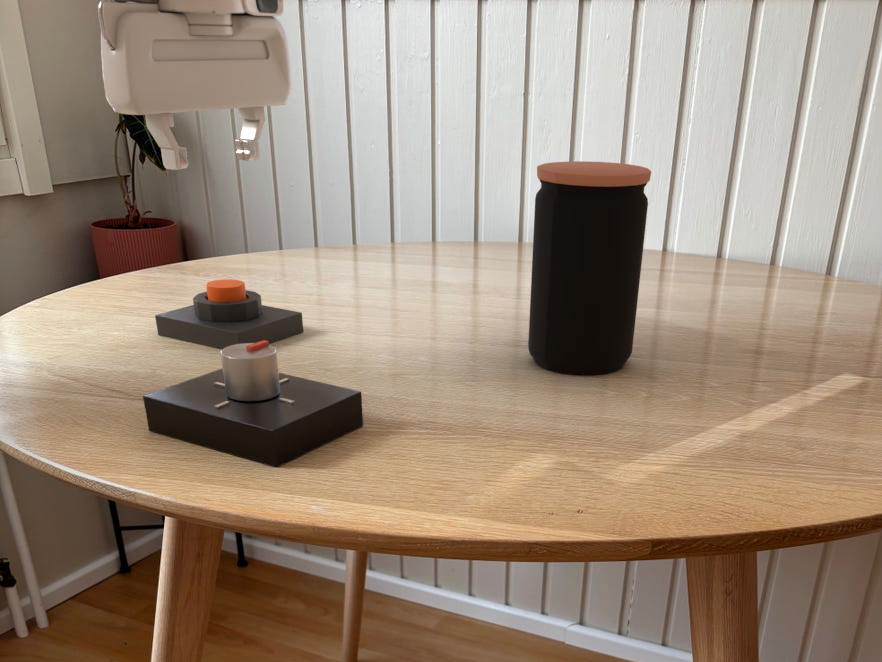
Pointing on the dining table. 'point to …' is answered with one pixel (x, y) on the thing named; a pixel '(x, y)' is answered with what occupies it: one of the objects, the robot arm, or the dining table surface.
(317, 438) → the dial panel
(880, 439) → the dining table surface
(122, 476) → the dining table surface
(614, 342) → the coffee jar
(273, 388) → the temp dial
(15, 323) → the dining table surface
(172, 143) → the robot arm
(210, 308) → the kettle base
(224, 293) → the power button
